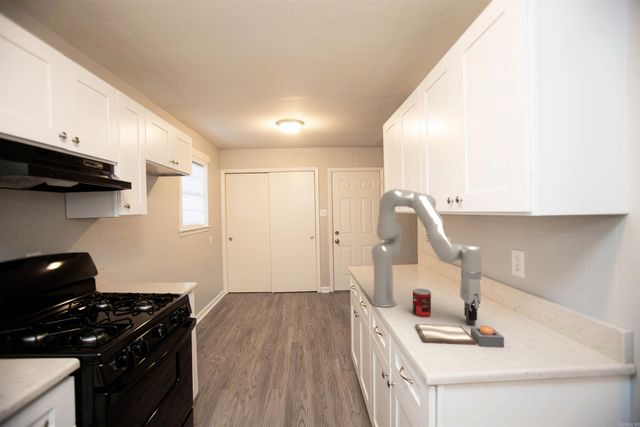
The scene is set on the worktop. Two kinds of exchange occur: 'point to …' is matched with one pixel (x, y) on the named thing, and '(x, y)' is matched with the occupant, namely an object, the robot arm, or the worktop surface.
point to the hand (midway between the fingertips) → (470, 317)
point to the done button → (486, 330)
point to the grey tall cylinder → (467, 316)
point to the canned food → (421, 302)
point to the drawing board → (444, 334)
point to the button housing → (487, 338)
